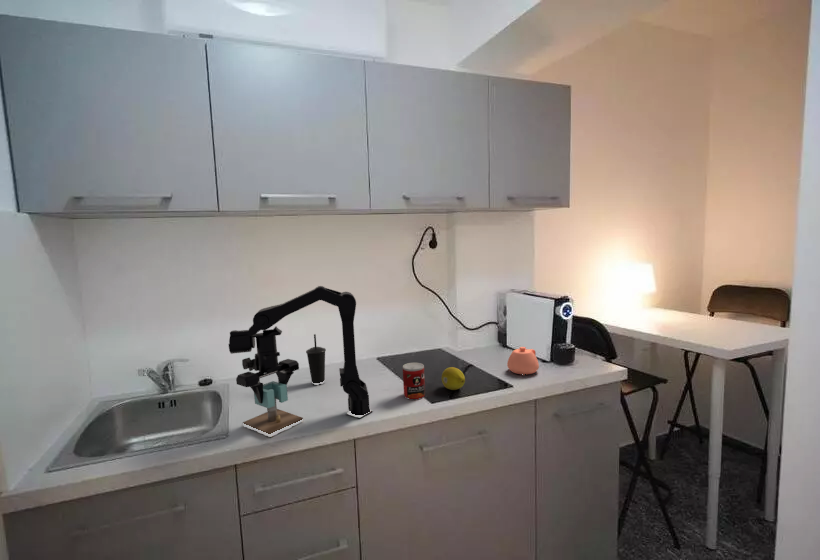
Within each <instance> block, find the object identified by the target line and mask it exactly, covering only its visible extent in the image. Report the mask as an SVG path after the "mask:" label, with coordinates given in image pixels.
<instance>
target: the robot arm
mask: <svg viewBox="0 0 820 560" xmlns="http://www.w3.org/2000/svg"><path fill="white" fill-rule="evenodd" d="M318 301H323V302H325V303H327V304H330V305H332V306H334V307H337V309H338V312H339V316H340V320H341V327H342V328H341V329H342V345H343V361H344V363H343V368H342V367H341V368H339V370H338V371H339V377H340V378H339V384H340V385H339V386H340V387H341V388H342V390H343V392H344V393H346V394H347V397H348V398H347V406H348V411H351V413H352V414H355V415H364V414H366V413H368V412H370V409H371V408H370V397H369V396H370V395H369V390H368V386H367V384H366V382H364V381H363V380H362V379H361V378H360V374H359V371H358V370H359V369H358V366H357V359H356V358H357V357H356V340H355V325H354V322H355V321H354V320H355V315H356V308H357V301H356V298H355V295H354V294H352V292H350V291H343V292H340V291H338V290H334V289H331V288H327V287H325V286H323V285H317V286H316V287H315V288H313V289H311V290H309V291H307V292H305V293H303V294H300V295H298V296H295V297H294V298H292V299H290V300H287V301H285V302H284V303H280V304H275V305H271V306H267V307H264V308H261V309H259V310H258V311H257V312H256V313H255V314H254V315H253V318H252V323H253V324H252V325H251V326H250V327H249V328H248V329H242V330H231V331H230V332H229V340H228V342H229V343H228V350H229V353H230V354H231V355H232V354H240V353H252V349H255V348H256V353H255V354H254V358H253V359H251V358H250V357H245V358H243V359H242V361H241V366H242V368H243V370H247V369H248V370H249V371H246V372H242V373H239V374H237V376H236V378H235V379H236V382H235V383H236V385H239V386H241V387H245V388H250V389H251V390H252V391H253V394H254V393H255V395H256V397H257V399H258V401H259V403H263V385H264V383H263V382H261V380H260V379H262V378H265V377H268V376H271V375H273V374H276V376H277V379H278V381H277V382H278V383H282V384H286V385H287V386H288V383H289V381H290V379H291V377H292V375H293V374H294V372H295V371H298V370H300V364H299V362H298V361H297V360H295V359H290V358H286V359H283V360H280V361H279V358H278V357H279V356H281V354H280V351H278V348H277V338H276V337H277V336H281V335H282V333H283V331H282V329H280V328H279V327H278V326H274V325H276V324H277V323H278V322H280V321H281V320H283V319H284V318H285V317H286V316H289V315H291V314H293V313H295V312H297V311H299V310H301V309H304V308H307V307H308V306H311V305H312V304H314V303H316V302H318ZM273 326H274V327H273ZM272 327H273V329H270V328H272ZM260 331H262V332H260ZM253 370H254V371H256V372H251V371H253Z"/></svg>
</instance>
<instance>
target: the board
mask: <svg viewBox="0 0 820 560" xmlns="http://www.w3.org/2000/svg"><path fill="white" fill-rule="evenodd" d="M274 399H275V406H273V407H271V408H266V410H267V411H266V412H263V413H261V414H259V415H256V416H255V417H252V418H250V419H248V420H244V421H243V422H242V424H243V423H244V424H246V425H249V426H251V427H253V428H256V429H258V430H261V431H263V432H266V433H268V434H271V433H273V432H275V431H277V430H280V429H282V428H284V427H286V426H289V425H291V424H293V423H296V422H298V421H300V420H302V419H303V420H304V417H302V416H299V415H297V414H293V413H291V412H288V411H284V410H282V409H278V407H277V399H276V397H274Z"/></svg>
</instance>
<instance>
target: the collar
mask: <svg viewBox="0 0 820 560" xmlns="http://www.w3.org/2000/svg"><path fill="white" fill-rule="evenodd" d="M287 386H288V384H287V385H286V384H282V383H278V381H274V380H271V381H270V382H267V383H263V403H259V401H258V399H257V397H256V395H255V393H254V392H253V396H254V404H255V405H258V406H261V407H263V408H266V409H267V408H271V407H273V406H275V399H274V397H276V400H278V402H279V403H281V404H282V403H284V402H287V401H289V396H288V387H287Z"/></svg>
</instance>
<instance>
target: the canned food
mask: <svg viewBox="0 0 820 560" xmlns="http://www.w3.org/2000/svg"><path fill="white" fill-rule="evenodd" d="M402 385H403V396H404V398H405V397H406V399H407V398H409V399H408V400H410V399H417V400H420V399H419V398H421V399H423V398H424V397H425V395H426V380H425V365H424V364H423V363H421V362H408V363H405V364H403V365H402ZM422 397H423V398H422Z"/></svg>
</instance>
